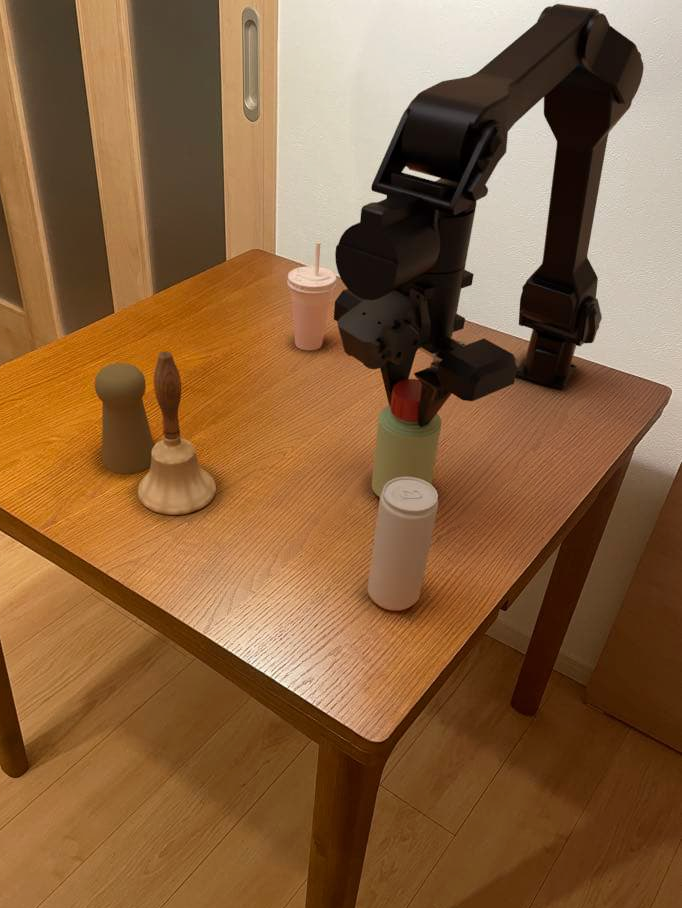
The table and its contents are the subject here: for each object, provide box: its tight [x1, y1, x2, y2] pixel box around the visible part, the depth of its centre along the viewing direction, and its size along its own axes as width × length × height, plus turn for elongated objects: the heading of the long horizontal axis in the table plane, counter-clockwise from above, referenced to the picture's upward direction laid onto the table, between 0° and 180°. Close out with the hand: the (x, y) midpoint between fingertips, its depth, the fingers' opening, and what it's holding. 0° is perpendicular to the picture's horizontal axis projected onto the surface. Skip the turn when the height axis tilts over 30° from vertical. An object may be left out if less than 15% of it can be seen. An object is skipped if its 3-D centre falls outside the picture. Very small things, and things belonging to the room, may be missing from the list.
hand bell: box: [137, 350, 217, 516], centre depth 79 cm, size 8×8×16 cm
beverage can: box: [367, 477, 439, 612], centre depth 70 cm, size 5×5×12 cm
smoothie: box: [286, 241, 337, 351], centre depth 105 cm, size 6×6×14 cm
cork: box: [94, 362, 155, 475], centre depth 85 cm, size 6×6×11 cm
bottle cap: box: [390, 378, 422, 422], centre depth 78 cm, size 4×4×2 cm
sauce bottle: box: [371, 404, 442, 498], centre depth 81 cm, size 6×6×11 cm
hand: (408, 415), depth 79 cm, fingers closed on bottle cap, 4 cm apart
